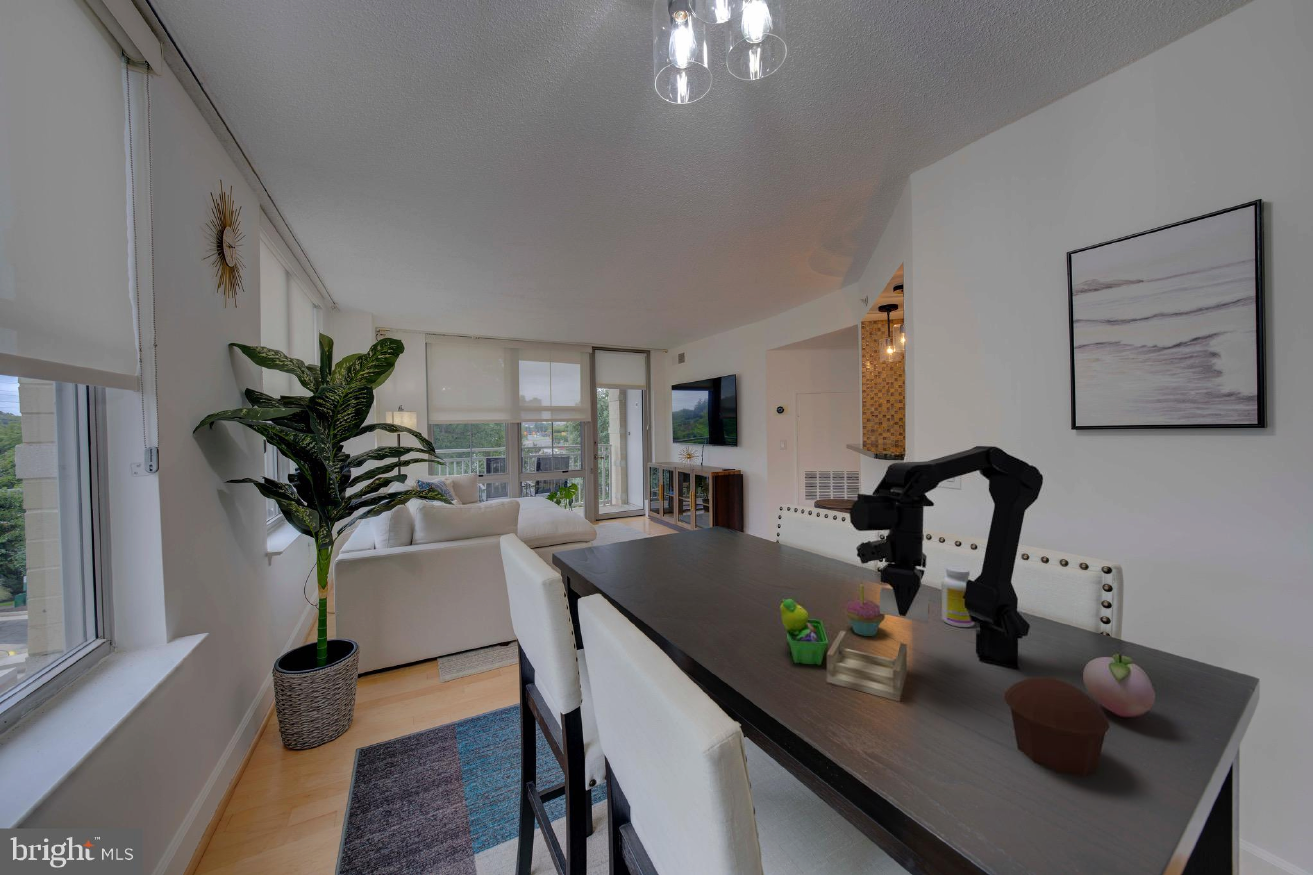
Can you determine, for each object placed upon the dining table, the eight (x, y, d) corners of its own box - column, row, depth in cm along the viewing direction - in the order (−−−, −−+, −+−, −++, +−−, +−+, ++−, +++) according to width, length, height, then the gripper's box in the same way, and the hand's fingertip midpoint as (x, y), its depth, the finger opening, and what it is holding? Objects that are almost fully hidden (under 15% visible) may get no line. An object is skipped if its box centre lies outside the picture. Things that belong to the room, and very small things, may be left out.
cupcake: (879, 643, 104) (879, 588, 104) (839, 633, 109) (839, 580, 109) (888, 629, 111) (888, 578, 110) (850, 621, 116) (850, 571, 116)
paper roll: (929, 618, 91) (929, 592, 91) (927, 626, 87) (928, 599, 87) (882, 608, 96) (882, 584, 96) (878, 616, 92) (879, 590, 92)
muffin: (1060, 728, 74) (1060, 664, 74) (1133, 781, 63) (1134, 705, 63) (985, 730, 74) (985, 666, 74) (1046, 784, 63) (1046, 708, 62)
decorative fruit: (1081, 694, 84) (1082, 637, 83) (1148, 711, 78) (1149, 650, 78) (1084, 719, 76) (1085, 657, 76) (1158, 740, 71) (1159, 673, 71)
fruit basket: (828, 668, 93) (828, 611, 93) (781, 664, 95) (781, 608, 95) (821, 643, 104) (820, 591, 104) (778, 639, 106) (778, 589, 106)
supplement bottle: (980, 628, 111) (981, 573, 111) (951, 628, 111) (952, 573, 111) (963, 617, 118) (963, 565, 118) (935, 617, 118) (935, 565, 118)
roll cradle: (906, 671, 92) (906, 644, 92) (899, 701, 82) (899, 671, 82) (840, 655, 98) (840, 630, 98) (826, 681, 88) (826, 653, 88)
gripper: (868, 517, 103) (866, 589, 104) (851, 532, 88) (849, 617, 88) (927, 523, 98) (925, 600, 98) (920, 540, 82) (918, 631, 82)
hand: (903, 611), depth 91 cm, fingers closed on paper roll, 5 cm apart
